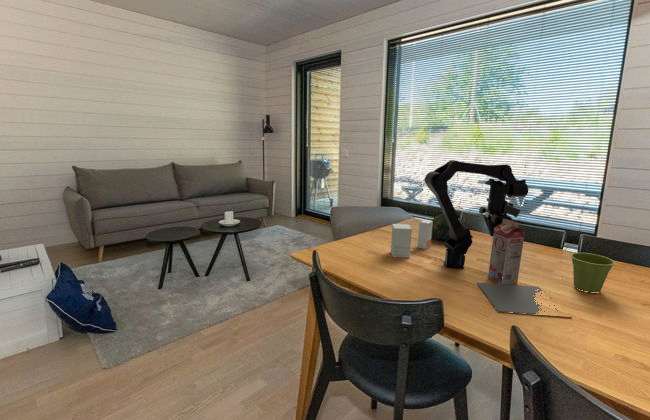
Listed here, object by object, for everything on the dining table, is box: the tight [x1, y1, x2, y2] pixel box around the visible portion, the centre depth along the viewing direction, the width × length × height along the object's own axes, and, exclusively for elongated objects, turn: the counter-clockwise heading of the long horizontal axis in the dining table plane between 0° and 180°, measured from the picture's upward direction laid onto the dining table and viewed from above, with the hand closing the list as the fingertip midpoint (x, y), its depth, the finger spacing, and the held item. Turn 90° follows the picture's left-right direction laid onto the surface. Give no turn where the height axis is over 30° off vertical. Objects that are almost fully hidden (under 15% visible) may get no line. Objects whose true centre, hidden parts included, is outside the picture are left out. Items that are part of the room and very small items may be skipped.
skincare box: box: [416, 219, 433, 250], centre depth 157 cm, size 6×4×12 cm
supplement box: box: [390, 223, 413, 259], centre depth 146 cm, size 7×7×13 cm
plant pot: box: [570, 252, 616, 293], centre depth 116 cm, size 12×12×11 cm
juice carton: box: [487, 218, 526, 285], centre depth 121 cm, size 7×7×22 cm
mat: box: [476, 282, 558, 314], centre depth 109 cm, size 20×20×1 cm
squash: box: [431, 213, 450, 241], centre depth 170 cm, size 14×15×15 cm
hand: (491, 236), depth 135 cm, fingers closed
